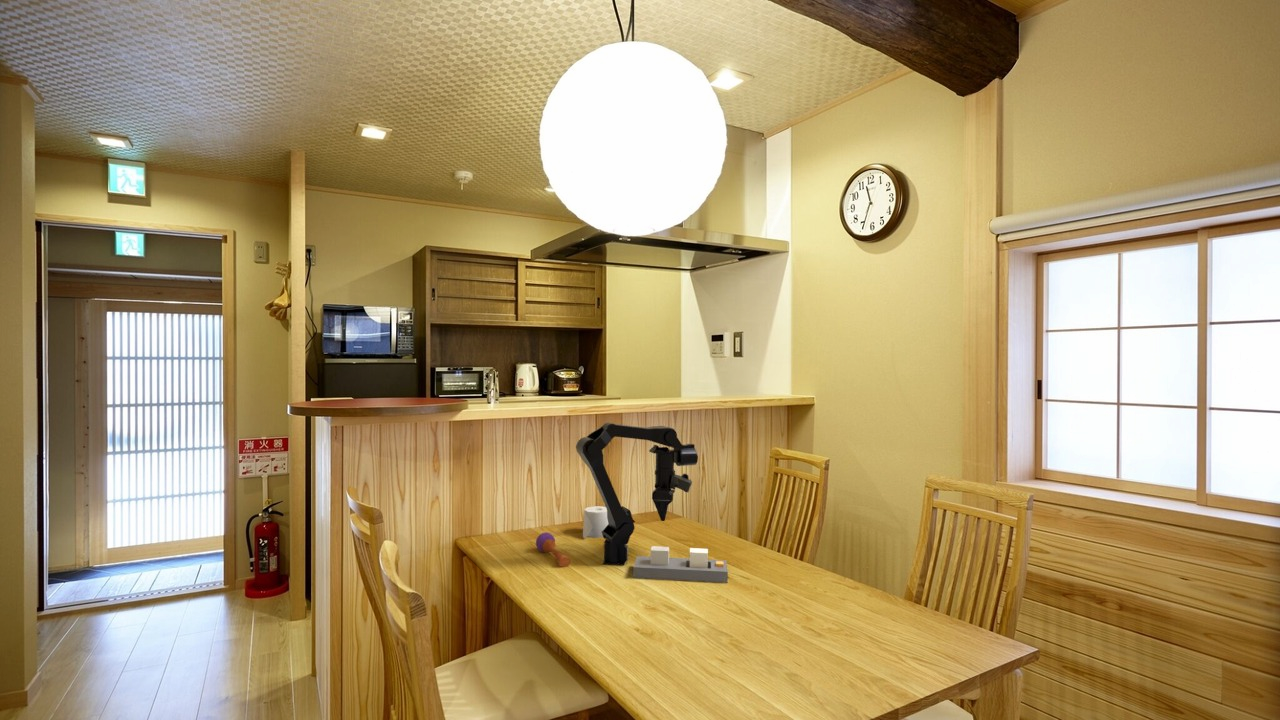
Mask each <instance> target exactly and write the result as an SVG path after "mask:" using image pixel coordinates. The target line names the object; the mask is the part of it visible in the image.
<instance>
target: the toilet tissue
mask: <svg viewBox="0 0 1280 720" xmlns="http://www.w3.org/2000/svg"><path fill="white" fill-rule="evenodd" d="M583 511H584V513H583V524H582V525H583V528H582V538H583V539H584V540H586V538H587V537H588V538H595V539H597V538H598V539H601V538H603V535H602V531H603V530H604V529H605V527H606V526H607V525H608V524H609V523H608V519H607V508H606V506H601V505H597V506H595V505H594V506H589V507H587V506H586V507H585V508H584V510H583Z"/></svg>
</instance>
